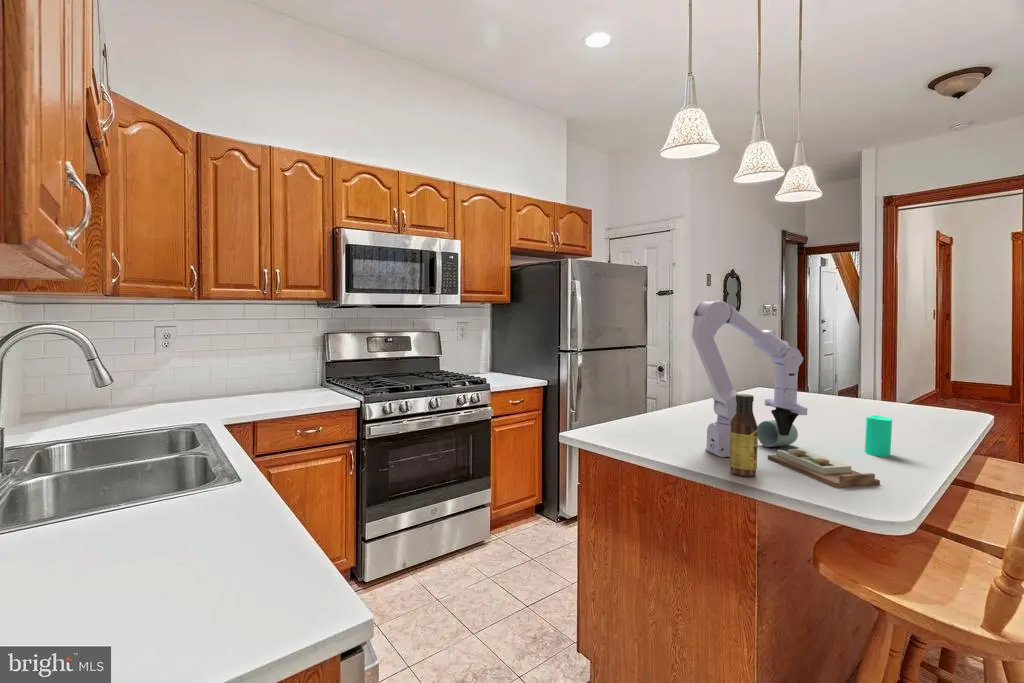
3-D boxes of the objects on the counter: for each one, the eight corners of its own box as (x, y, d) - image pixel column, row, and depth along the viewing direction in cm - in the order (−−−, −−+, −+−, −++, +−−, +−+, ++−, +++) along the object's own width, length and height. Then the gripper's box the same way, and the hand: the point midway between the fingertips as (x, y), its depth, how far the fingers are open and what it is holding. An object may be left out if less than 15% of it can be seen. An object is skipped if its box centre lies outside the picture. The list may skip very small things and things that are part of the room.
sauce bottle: (759, 478, 123) (762, 397, 122) (732, 476, 124) (735, 396, 123) (752, 470, 129) (755, 393, 128) (726, 468, 130) (729, 392, 129)
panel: (823, 474, 123) (823, 468, 123) (776, 455, 139) (777, 449, 139) (851, 472, 125) (851, 466, 124) (802, 454, 140) (802, 448, 140)
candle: (881, 451, 148) (883, 410, 147) (895, 456, 142) (897, 414, 141) (860, 450, 148) (862, 410, 148) (872, 456, 142) (874, 414, 142)
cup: (795, 416, 153) (771, 416, 149) (806, 440, 150) (782, 442, 146) (775, 425, 159) (752, 426, 155) (785, 448, 156) (762, 450, 152)
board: (836, 487, 117) (837, 472, 117) (767, 458, 139) (768, 445, 139) (879, 484, 119) (880, 469, 119) (805, 456, 142) (805, 443, 141)
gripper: (817, 391, 138) (815, 440, 139) (779, 384, 152) (778, 428, 153) (795, 392, 136) (793, 442, 137) (759, 384, 151) (757, 429, 152)
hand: (784, 435), depth 145 cm, fingers closed
